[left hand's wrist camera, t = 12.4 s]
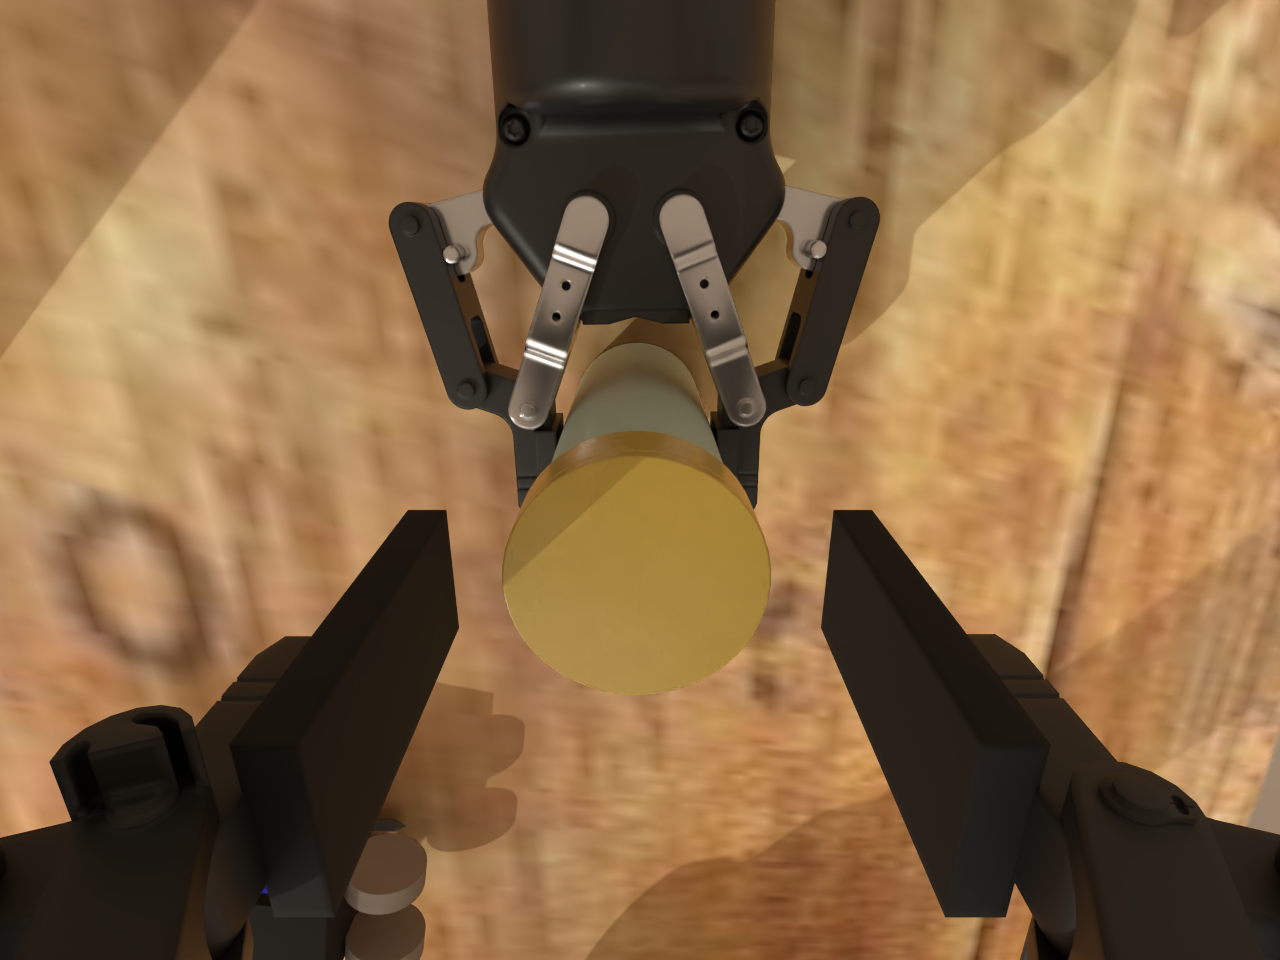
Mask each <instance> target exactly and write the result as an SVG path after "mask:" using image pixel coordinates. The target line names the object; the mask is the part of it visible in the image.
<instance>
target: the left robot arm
mask: <svg viewBox="0 0 1280 960" xmlns="http://www.w3.org/2000/svg"><path fill="white" fill-rule="evenodd" d="M458 629H459V624H458V615H457V605H456V596H455V587H454V578H453V568H452V559H451V550H450V540H449V531H448V522H447V512H446V510H408V511H407V512H406V514H405V515H404V516H403V517H402V519H401V520H400V521H399V523H398V524H397V525H396V527H395V528H394V529H393V531H392V532H391V533H390V534H389V536H388V537H387V538H386V540H385V541H384V542H383V544H382V545H381V546H380V548H379V549H378V550H377V551H376V553H375V554H374V555H373V557H372V558H371V559H370V561H369V562H368V563H367V565H366V566H365V567H364V569H363V570H362V571H361V572H360V574H359V575H358V576H357V578H356V579H355V580H354V582H353V583H352V584H351V586H350V587H349V588H348V589H347V591H346V592H345V593H344V595H343V596H342V597H341V599H340V600H339V601H338V603H337V604H336V605H335V606H334V608H333V609H332V610H331V612H330V613H329V614H328V616H327V617H326V618H325V620H324V621H323V622H322V624H321V625H320V626H319V627H318V629H317V630H316V631H315V633H314V634H313V635H312V636H285V637H284V638H282V639H281V640H279V641H278V642H276V643H275V644H273V645H272V646H270V647H268V648H267V649H265V650H264V651H262V652H261V653H259V654H258V655H256V656H255V658H254V659H253V660H252V661H251V662H250V663H249V665H248V666H247V667H246V668H245V669H244V670H243V672H242V673H241V674H240V675H239V676H238V677H237V682H233V683H232V684H231V686H230V687H229V688H228V689H227V690H226V691H225V693H224V694H223V695H222V699H221V701H217V702H216V703H215V704H214V706H213V707H212V708H211V709H210V710H209V711H208V713H207V714H206V715H205V716H204V717H203V718H202V720H201V721H200V722H199V723H198V724H197V725H196V727H194V723H193V719H192V716H191V715H189V714H188V713H187V712H185V711H184V710H183V709H181V708H178V707H171V706H164V705H158V706H149V707H141V708H135V709H132V710H129V711H126V712H122V713H119V714H116V715H113V716H110V717H108V718H106V719H104V720H102V721H100V722H98V723H95V724H93V725H91V726H89V727H87V728H85V729H84V730H82V731H81V732H80V733H78V734H77V735H76V736H74V737H73V738H72V739H70V740H69V741H67V742H66V743H65V744H63V745H62V747H61V748H60V749H59V750H58V752H57V753H56V754H55V755H54V757H53V758H52V759H51V761H50V765H51V768H52V770H53V773H54V775H55V778H56V781H57V783H58V786H59V789H60V791H61V794H62V796H63V799H64V802H65V804H66V807H67V810H68V812H69V815H70V817H71V820H72V821H70V822H66V823H62V824H58V825H54V826H49V827H45V828H41V829H36V830H32V831H28V832H23V833H19V834H15V835H11V836H6V837H2V838H0V960H252V957H253V947H254V942H253V936H252V930H251V926H250V922H249V919H248V916H249V915H250V913H251V911H252V909H253V907H254V906H255V904H256V902H257V900H258V898H259V896H260V895H261V893H262V891H263V889H264V887H265V886H266V887H267V891H268V895H269V899H270V902H271V906H272V910H273V914H274V917H335V915H336V913H337V910H338V908H339V906H340V903H341V901H342V899H343V896H344V894H345V892H346V889H347V887H348V885H349V883H350V880H351V878H352V876H353V873H354V871H355V869H356V866H357V864H358V862H359V859H360V857H361V855H362V852H363V850H364V848H365V845H366V843H367V841H368V838H369V836H370V834H371V831H372V829H373V827H374V824H375V822H376V820H377V817H378V815H379V813H380V810H381V808H382V806H383V803H384V801H385V799H386V796H387V794H388V792H389V789H390V787H391V785H392V782H393V780H394V778H395V775H396V773H397V771H398V768H399V766H400V764H401V761H402V759H403V757H404V754H405V752H406V750H407V748H408V745H409V743H410V741H411V738H412V736H413V734H414V731H415V729H416V727H417V724H418V722H419V720H420V717H421V715H422V713H423V710H424V708H425V706H426V703H427V701H428V699H429V696H430V694H431V692H432V689H433V687H434V685H435V682H436V680H437V678H438V675H439V673H440V671H441V668H442V666H443V664H444V661H445V659H446V657H447V654H448V652H449V650H450V647H451V645H452V643H453V640H454V638H455V636H456V633H457V631H458ZM821 629H822V631H823V633H824V636H825V638H826V640H827V643H828V645H829V647H830V650H831V652H832V654H833V657H834V659H835V661H836V664H837V666H838V668H839V671H840V673H841V675H842V678H843V680H844V682H845V685H846V687H847V689H848V692H849V694H850V696H851V699H852V701H853V703H854V706H855V708H856V710H857V713H858V715H859V717H860V720H861V722H862V724H863V727H864V729H865V731H866V734H867V736H868V738H869V741H870V743H871V745H872V748H873V750H874V752H875V754H876V757H877V759H878V761H879V764H880V766H881V768H882V771H883V773H884V775H885V778H886V780H887V782H888V785H889V787H890V789H891V792H892V794H893V796H894V799H895V801H896V803H897V806H898V808H899V810H900V813H901V815H902V817H903V820H904V822H905V824H906V827H907V829H908V831H909V834H910V836H911V838H912V841H913V843H914V845H915V848H916V850H917V852H918V855H919V857H920V859H921V862H922V864H923V866H924V869H925V871H926V873H927V876H928V878H929V880H930V883H931V885H932V887H933V889H934V892H935V894H936V896H937V899H938V901H939V903H940V906H941V908H942V910H943V913H944V915H945V917H1006V914H1007V910H1008V906H1009V902H1010V899H1011V895H1012V891H1013V887H1014V883H1015V884H1016V886H1017V887H1018V889H1019V891H1020V893H1021V895H1022V896H1023V898H1024V900H1025V902H1026V904H1027V905H1028V907H1029V909H1030V911H1031V913H1032V919H1031V922H1030V926H1029V929H1028V933H1027V936H1026V940H1025V944H1024V947H1023V951H1022V954H1021V958H1020V960H1280V835H1279V834H1274V833H1270V832H1266V831H1261V830H1257V829H1253V828H1248V827H1244V826H1240V825H1235V824H1231V823H1227V822H1222V821H1218V820H1214V819H1211V818H1207V817H1206V816H1205V815H1204V813H1203V812H1202V810H1201V809H1200V807H1199V806H1198V805H1197V803H1196V802H1195V801H1194V800H1193V799H1191V798H1190V797H1189V796H1188V795H1187V794H1186V793H1184V792H1183V791H1182V790H1181V789H1180V788H1178V787H1177V786H1176V785H1174V784H1173V783H1171V782H1169V781H1167V780H1165V779H1164V778H1162V777H1160V776H1158V775H1156V774H1155V773H1153V772H1151V771H1148V770H1145V769H1142V768H1139V767H1136V766H1133V765H1130V764H1128V763H1123V762H1117V760H1116V759H1115V758H1114V757H1113V756H1112V755H1111V753H1110V752H1109V751H1108V750H1107V749H1106V748H1105V747H1104V745H1103V744H1102V743H1101V742H1100V741H1099V740H1098V738H1097V737H1096V736H1095V735H1094V734H1093V733H1092V731H1091V730H1090V729H1089V728H1088V727H1087V726H1086V724H1085V723H1084V722H1083V721H1082V720H1081V719H1080V717H1079V716H1078V715H1077V714H1076V713H1075V712H1074V710H1073V709H1072V708H1071V707H1070V706H1069V705H1068V703H1067V702H1066V701H1065V700H1064V699H1063V698H1059V693H1058V692H1057V691H1056V690H1055V688H1054V687H1053V686H1052V685H1051V684H1050V683H1049V681H1048V680H1044V679H1043V674H1042V673H1041V672H1040V671H1039V670H1038V669H1037V667H1036V666H1035V665H1034V664H1033V663H1032V662H1031V660H1030V659H1029V658H1028V657H1027V656H1026V655H1025V653H1023V652H1022V651H1020V650H1019V649H1017V648H1016V647H1014V646H1012V645H1011V644H1009V643H1008V642H1006V641H1005V640H1003V639H1002V638H1000V637H999V636H997V635H995V634H966V633H965V631H964V630H963V629H962V627H961V626H960V625H959V624H958V622H957V621H956V620H955V618H954V617H953V616H952V614H951V613H950V612H949V610H948V609H947V608H946V607H945V605H944V604H943V603H942V601H941V600H940V599H939V597H938V596H937V595H936V593H935V592H934V591H933V589H932V588H931V587H930V586H929V584H928V583H927V582H926V580H925V579H924V578H923V576H922V575H921V574H920V572H919V571H918V570H917V569H916V567H915V566H914V565H913V563H912V562H911V561H910V559H909V558H908V557H907V555H906V554H905V553H904V551H903V550H902V549H901V548H900V546H899V545H898V544H897V542H896V541H895V540H894V538H893V537H892V536H891V534H890V533H889V532H888V531H887V529H886V528H885V527H884V525H883V524H882V523H881V521H880V520H879V519H878V517H877V516H876V515H875V514H874V512H873V511H872V510H834V512H833V522H832V531H831V540H830V550H829V559H828V568H827V578H826V587H825V596H824V605H823V615H822V624H821Z"/></svg>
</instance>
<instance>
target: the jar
mask: <svg viewBox="0 0 1280 960" xmlns="http://www.w3.org/2000/svg"><path fill="white" fill-rule="evenodd" d="M622 431H650V432H658V433H663V434H668V435H672V436H675V437H678V438H681V439H684V440H687V441H689V442H691V443H693V444H695V445H697V446H699V447H701V448H703V449H704V450H706V451H707V452H709V453H710V454H712V455H713V456H715V457H716V458H717V459H718V460H720V461H721V462H722V459H721V456H720V454H719V451H718V448H717V445H716V442H715V439H714V436H713V433H712V431H711V428H710V425H709V422H708V419H707V416H706V413H705V410H704V407H703V405H702V402H701V399H700V396H699V393H698V390H697V387H696V384H695V382H694V379H693V377H692V375H691V373H690V372H689V370H688V368H687V367H686V366H685V365H684V364H683V362H682V361H681V360H680V359H679V358H677V357H676V356H675V355H674V354H672V353H671V352H669V351H667V350H665V349H663V348H661V347H658V346H656V345H652V344H647V343H628V344H622V345H619V346H616V347H613V348H611V349H609V350H607V351H605V352H604V353H602V354H601V355H599V356H598V357H597V358H596V359H595V360H594V361H593V362H592V363H591V364H590V365H589V366H588V368H587V369H586V371H585V372H584V374H583V376H582V378H581V380H580V383H579V386H578V389H577V391H576V394H575V397H574V400H573V403H572V406H571V408H570V411H569V414H568V417H567V420H566V423H565V425H564V428H563V431H562V434H561V437H560V439H559V442H558V445H557V448H556V451H555V454H554V456H553V459H552V462H553V461H554V460H555V459H556V458H558V457H559V456H560V455H561V454H563V453H564V452H566V451H568V450H569V449H571V448H572V447H574V446H576V445H578V444H580V443H582V442H585V441H587V440H589V439H592V438H595V437H598V436H602V435H605V434H610V433H616V432H622ZM552 462H551V463H552ZM722 463H723V462H722Z"/></svg>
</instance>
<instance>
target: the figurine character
mask: <svg viewBox="0 0 1280 960" xmlns="http://www.w3.org/2000/svg"><path fill="white" fill-rule="evenodd" d="M405 826H406V825H404V824H402V823H400V822H399V821H397V820H383V819H377V820H376V822H375V824H374V827H373V829H372V831H396V830H398V829H401V828H403V827H405ZM426 866H427V855H426V852H425V850H424V848H423V847H422V845H421V844H420V843H419V842H417V841H416V840H414V839H413V838H410V837H408V836H405V835H400V834H382V835H377V836H374V837H371V838H368V841H367V843H366V845H365V848H364V850H363V852H362V855H361V857H360V859H359V862H358V864H357V866H356V869H355V871H354V873H353V876H352V878H351V880H350V883H349V885H348V887H347V889H346V892H345V894H344V896H343V899H342V901H341V903H340V906H339V908H338V910H337V913H336V915H335V917H274V914H273V910H272V906H271V902H270V899H269V895H268V891H267V887H266V886H265V887H264V889H263V891H262V893H261V895H260V896H259V898H258V900H257V902H256V904H255V906H254V907H253V909H252V911H251V913H250V915H249V916H248V919H249V922H250V926H251V930H252V936H253V942H254V947H253V957H252V960H343V959H344V957H345V960H419V959H420V957H421V955H422V952H423V947H424V937H425V920H424V917H423V915H422V913H421V912H420V911H419V910H418V909H417V908H416V907H415V906H414V905H412V904H411V903H412V902H414V901H415V900H416V899H417V898H418V896H419V895H420V894H421V892H422V890H423V888H424V885H425V877H426Z"/></svg>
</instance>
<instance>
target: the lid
mask: <svg viewBox="0 0 1280 960" xmlns="http://www.w3.org/2000/svg"><path fill="white" fill-rule="evenodd" d="M502 583H503V591H504V597H505V601H506V604H507V608H508V611H509V614H510V616H511V618H512V620H513V623H514V625H515V627H516V629H517V630H518V632H519V633H520V635H521V637H522V638H523V640H524V641H525V642H526V643H527V645H528V646H529V647H530V648H531V649H532V651H533V652H534V653H535V654H536V655H537V656H538V657H539V658H541V659H542V660H543V661H544V662H545V663H546V664H547V665H549V666H550V667H552V668H553V669H554V670H556V671H557V672H558V673H560V674H562V675H564V676H566V677H567V678H569V679H571V680H573V681H575V682H578V683H580V684H582V685H585V686H587V687H591V688H594V689H598V690H601V691H606V692H611V693H617V694H630V695H643V694H655V693H662V692H668V691H672V690H675V689H679V688H683V687H686V686H688V685H691V684H693V683H696V682H698V681H700V680H702V679H704V678H706V677H708V676H710V675H711V674H713V673H715V672H716V671H717V670H719V669H720V668H722V667H723V666H725V665H726V664H727V663H728V662H729V661H730V660H732V659H733V658H734V657H735V656H736V655H737V654H738V653H739V652H740V651H741V650H742V648H743V647H744V646H745V645H746V644H747V643H748V641H749V640H750V638H751V637H752V635H753V634H754V632H755V631H756V629H757V627H758V625H759V623H760V621H761V619H762V617H763V615H764V611H765V608H766V605H767V602H768V598H769V592H770V586H771V565H770V558H769V552H768V548H767V545H766V541H765V538H764V535H763V533H762V530H761V528H760V525H759V522H758V520H757V517H756V515H755V512H754V510H753V507H752V505H751V503H750V501H749V498H748V496H747V494H746V492H745V490H744V489H743V487H742V486H741V484H740V482H739V481H738V479H737V478H736V477H735V476H734V475H733V473H732V472H731V471H730V470H729V469H728V468H727V467H726V466H725V465H724V464H723V463H722V462H721V461H720V460H718V459H717V458H716V457H715V456H713V455H712V454H710V453H709V452H707V451H706V450H704V449H703V448H701V447H699V446H697V445H695V444H693V443H691V442H689V441H687V440H684V439H681V438H678V437H675V436H672V435H668V434H663V433H658V432H650V431H622V432H616V433H610V434H605V435H602V436H598V437H595V438H592V439H589V440H587V441H585V442H582V443H580V444H578V445H576V446H574V447H572V448H571V449H569V450H568V451H566V452H564V453H563V454H561V455H560V456H559V457H558V458H556V459H555V460H554V461H553V462H552V463H550V464H549V465H548V466H547V467H546V468H545V469H544V471H543V472H542V473H541V474H540V475H539V476H538V477H537V479H536V480H535V482H534V483H533V485H532V486H531V488H530V489H529V491H528V493H527V495H526V497H525V499H524V501H523V503H522V506H521V508H520V511H519V513H518V516H517V518H516V521H515V523H514V525H513V528H512V530H511V533H510V536H509V539H508V542H507V545H506V548H505V553H504V559H503V565H502Z"/></svg>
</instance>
